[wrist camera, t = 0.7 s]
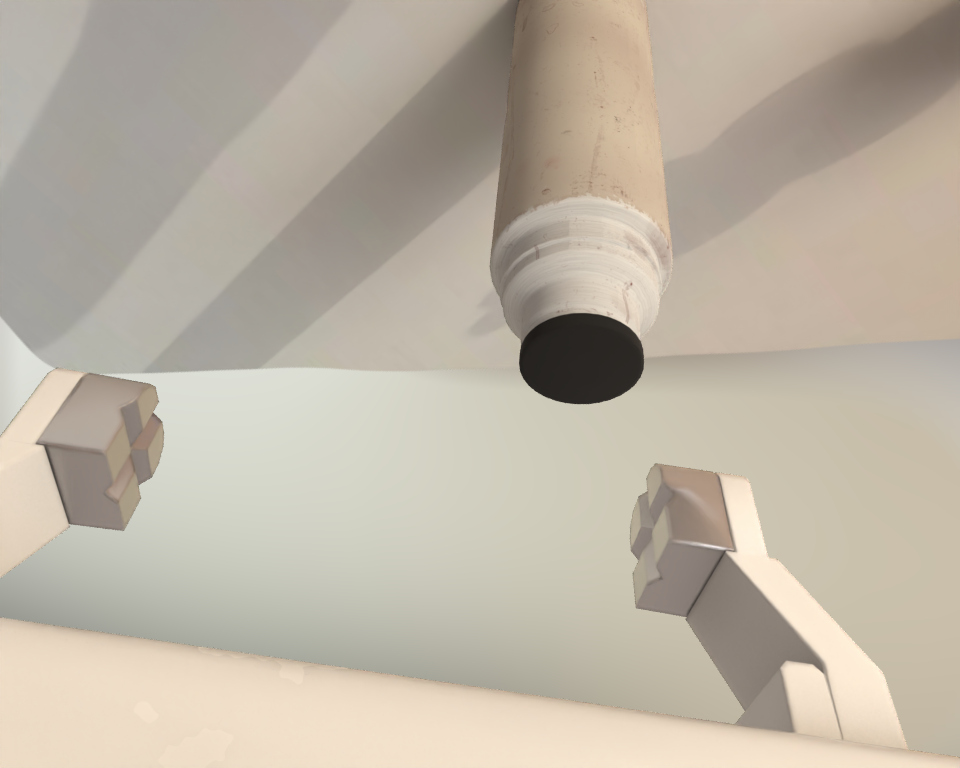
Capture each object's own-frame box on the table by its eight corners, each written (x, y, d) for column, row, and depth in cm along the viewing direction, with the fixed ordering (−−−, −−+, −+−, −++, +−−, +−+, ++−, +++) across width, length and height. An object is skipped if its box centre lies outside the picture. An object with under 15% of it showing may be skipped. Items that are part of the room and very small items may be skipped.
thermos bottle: (558, 101, 53) (546, 449, 36) (490, 1, 48) (438, 348, 31) (669, 39, 49) (717, 395, 32) (607, -77, 44) (623, 269, 27)
